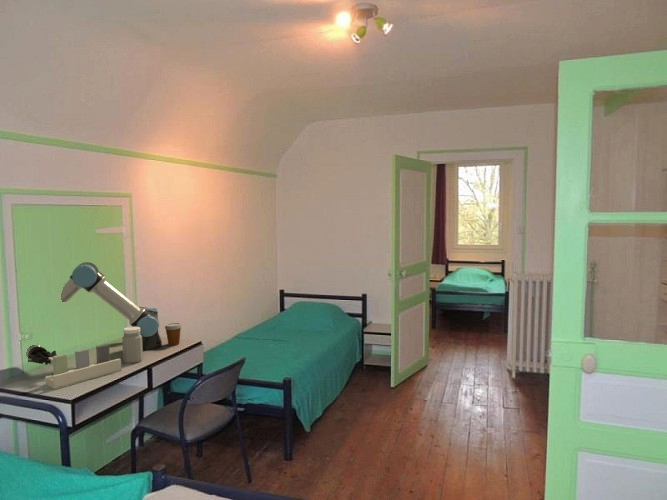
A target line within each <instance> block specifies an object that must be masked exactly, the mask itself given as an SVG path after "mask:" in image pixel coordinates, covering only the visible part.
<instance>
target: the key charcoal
mask: <svg viewBox="0 0 667 500" xmlns="http://www.w3.org/2000/svg"><path fill="white" fill-rule="evenodd" d="M95 348H96V349H95V350H96V364H100V363H104V362H108V361H110V360H111V359H110V345H109V344H108V343H104V344H100V345H97V346H95Z"/></svg>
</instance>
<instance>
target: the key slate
mask: <svg viewBox="0 0 667 500" xmlns="http://www.w3.org/2000/svg"><path fill="white" fill-rule="evenodd" d="M74 355H75V357H74V358H75V370H77V369H81V368H85V367H89V365H90V351H89V349H87V348H82V349H79V350H74Z"/></svg>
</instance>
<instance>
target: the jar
mask: <svg viewBox="0 0 667 500" xmlns="http://www.w3.org/2000/svg"><path fill="white" fill-rule="evenodd" d="M121 339H122V340H121V341H122V354H123V355H122V357H123V358H122V360H123V362H124V363H125V364H130V365H131V364H138V363H140V362H142V361H143V360H144V353H143V351H144V350H143V347H142V336H141V333H140V327H132V326H127V327H124V328H123V337H122V338H121Z"/></svg>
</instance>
